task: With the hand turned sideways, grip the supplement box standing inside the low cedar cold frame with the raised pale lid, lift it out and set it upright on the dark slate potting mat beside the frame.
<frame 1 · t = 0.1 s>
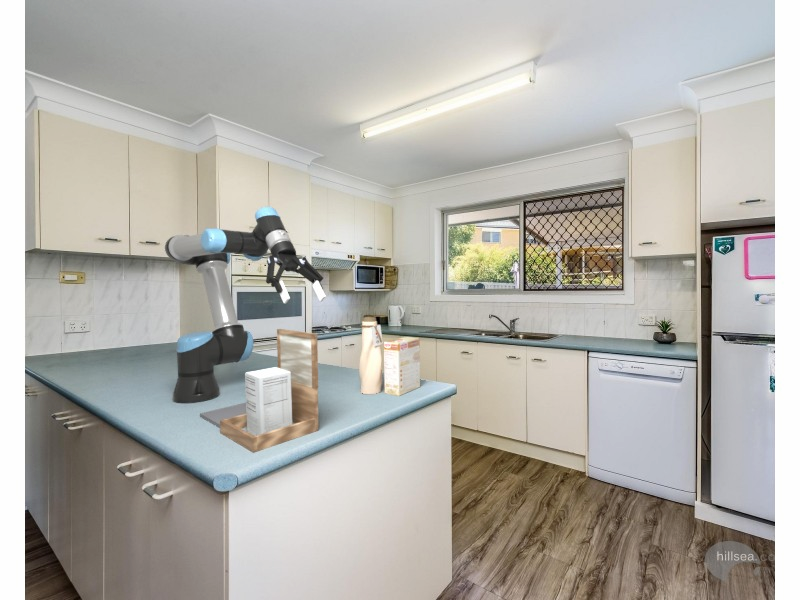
hand: (305, 300, 121), 36 cm above the counter, tool tilted 35°, fingers open, 13 cm apart
water bottle: (372, 392, 146), on the counter
coffeecake box: (402, 390, 148), on the counter
supplement box: (269, 432, 108), resting in cold frame
cold frame: (269, 431, 108), on the counter
potting mat: (237, 415, 121), on the counter
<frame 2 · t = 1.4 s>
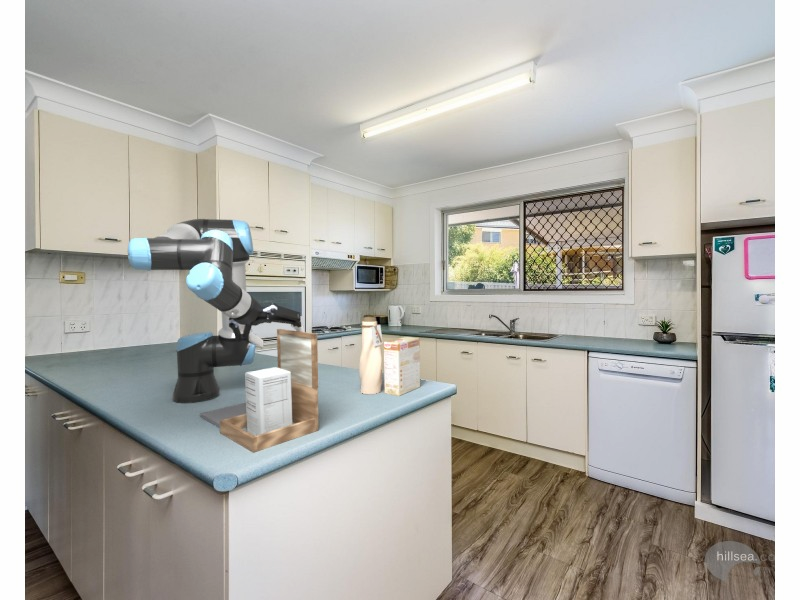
hand: (282, 337, 118), 25 cm above the counter, tool tilted 60°, fingers open, 13 cm apart
nothing on the counter moved.
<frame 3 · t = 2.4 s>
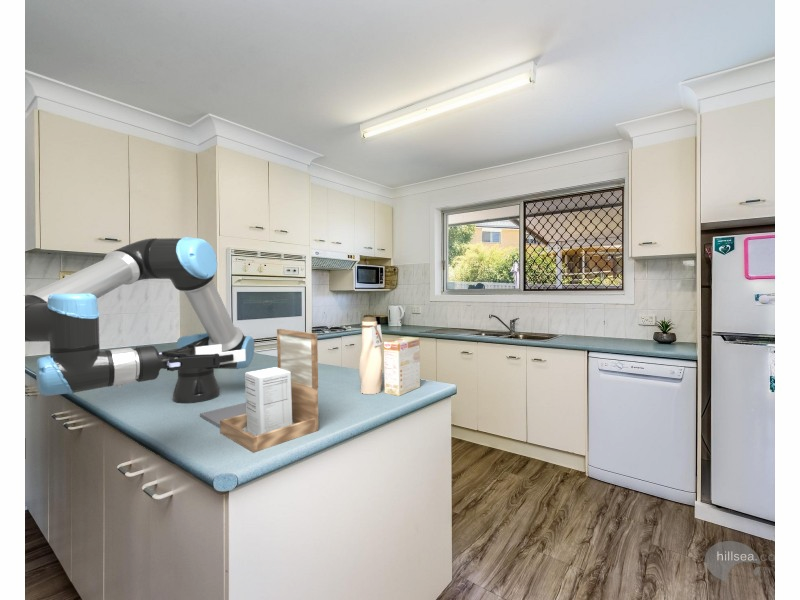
hand: (232, 352, 99), 24 cm above the counter, tool horizontal, fingers open, 13 cm apart
nothing on the counter moved.
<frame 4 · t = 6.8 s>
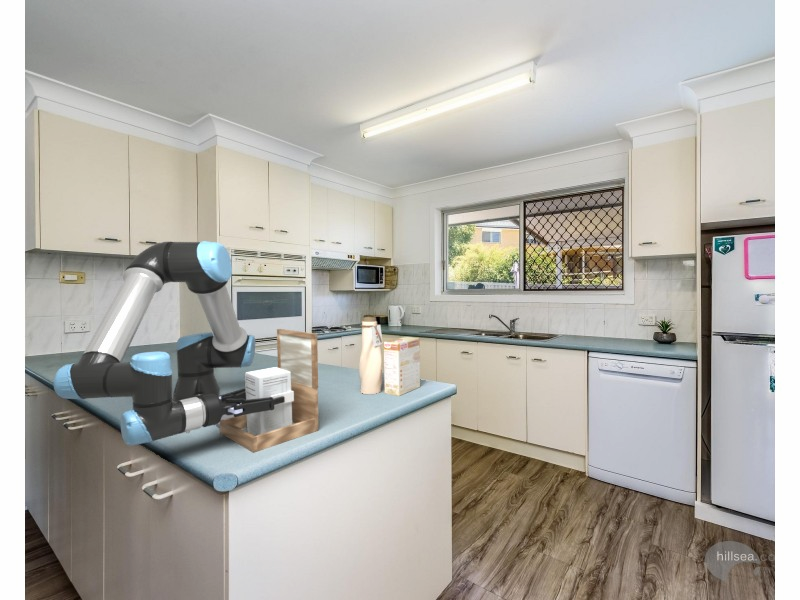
hand: (283, 392, 110), 10 cm above the counter, tool horizontal, fingers closed on supplement box, 9 cm apart
supplement box: (269, 432, 107), resting in cold frame, touching gripper
everything else where it was.
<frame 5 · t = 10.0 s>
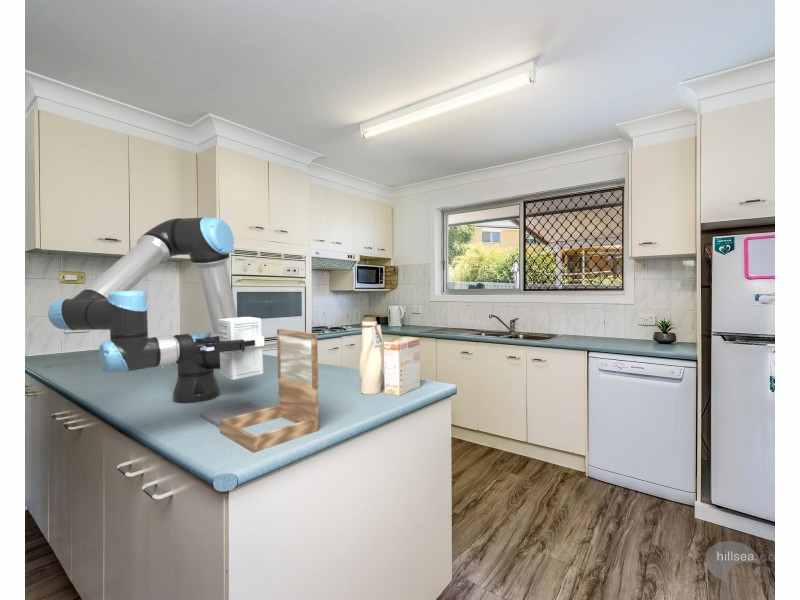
hand: (255, 339, 118), 24 cm above the counter, tool horizontal, fingers closed on supplement box, 9 cm apart
supplement box: (241, 375, 116), point 14 cm above the counter, touching gripper
everything else where it was.
when the fingers open (12 cm above the counter, at t = 13.3 s): supplement box drops 1 cm, resting on potting mat.
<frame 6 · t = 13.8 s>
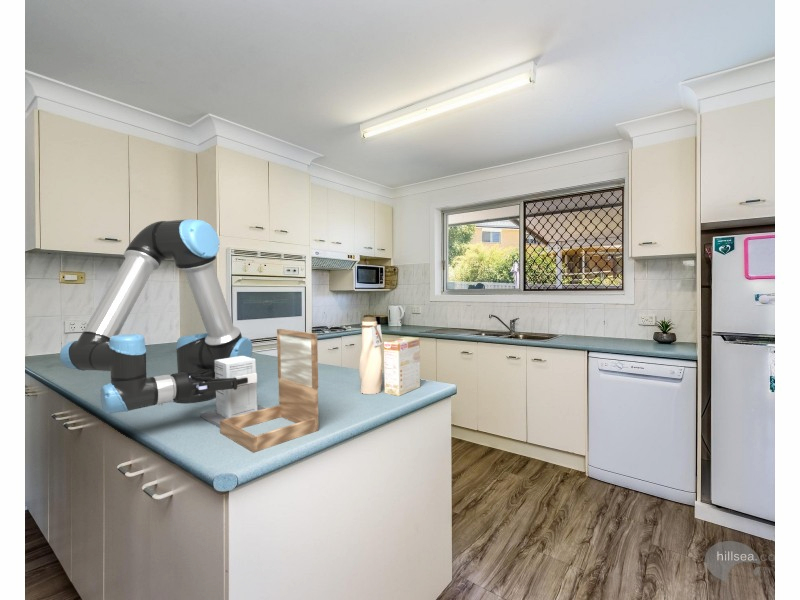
hand: (246, 374, 123), 12 cm above the counter, tool horizontal, fingers open, 13 cm apart
supplement box: (237, 413, 121), point 1 cm above the counter, touching potting mat
everything else where it was.
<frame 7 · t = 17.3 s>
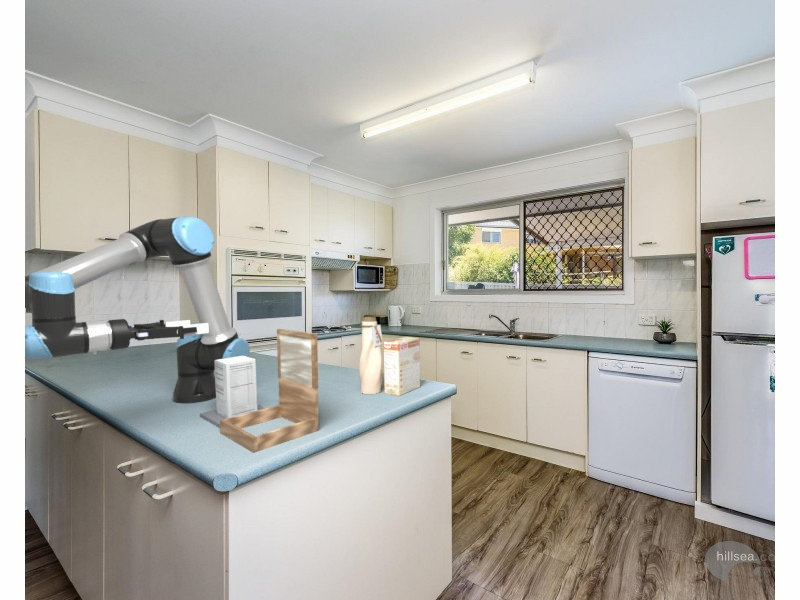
hand: (198, 326, 112), 29 cm above the counter, tool horizontal, fingers open, 13 cm apart
nothing on the counter moved.
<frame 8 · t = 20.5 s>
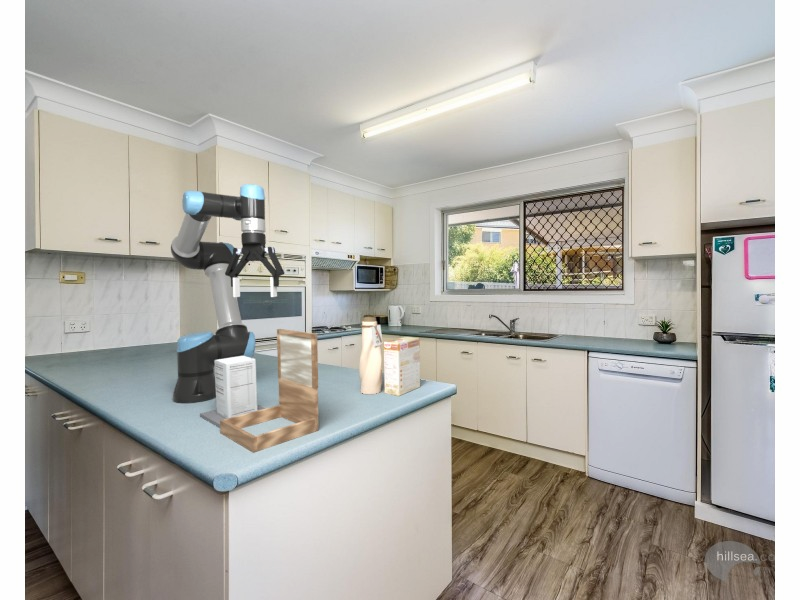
hand: (255, 297, 130), 37 cm above the counter, tool pointing down, fingers open, 13 cm apart
nothing on the counter moved.
at the end: supplement box inside the target area on the potting mat (0.1 cm from its centre), point 0.8 cm above the potting mat's base; supplement box tilted 0°; the gripper is holding nothing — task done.
